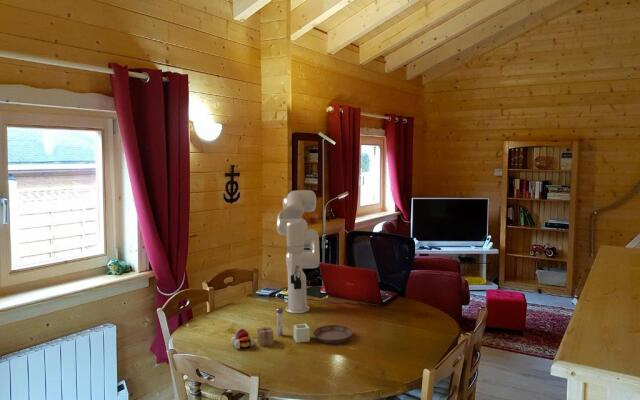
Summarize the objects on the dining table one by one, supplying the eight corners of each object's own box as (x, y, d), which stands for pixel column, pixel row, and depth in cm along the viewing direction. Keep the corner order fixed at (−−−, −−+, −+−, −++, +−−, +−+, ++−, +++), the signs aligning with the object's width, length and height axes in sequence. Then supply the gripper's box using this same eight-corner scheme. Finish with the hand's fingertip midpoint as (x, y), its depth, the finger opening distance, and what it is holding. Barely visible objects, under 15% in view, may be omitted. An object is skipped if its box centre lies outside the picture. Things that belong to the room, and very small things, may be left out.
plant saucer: (322, 348, 224) (322, 341, 224) (307, 334, 240) (307, 328, 240) (359, 341, 231) (359, 335, 231) (342, 328, 247) (342, 322, 247)
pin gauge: (276, 334, 240) (275, 308, 239) (282, 333, 241) (282, 307, 240) (277, 336, 237) (276, 310, 236) (284, 336, 238) (283, 309, 237)
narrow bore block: (257, 341, 232) (257, 328, 232) (270, 339, 234) (270, 326, 233) (259, 346, 227) (259, 332, 226) (273, 344, 228) (273, 331, 227)
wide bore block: (293, 337, 236) (293, 324, 235) (306, 336, 237) (306, 323, 237) (296, 342, 230) (296, 329, 229) (309, 341, 232) (309, 327, 231)
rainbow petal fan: (236, 351, 221) (236, 334, 221) (229, 343, 230) (229, 327, 229) (255, 347, 225) (255, 331, 224) (248, 340, 234) (247, 324, 233)
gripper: (284, 245, 244) (285, 282, 246) (289, 252, 227) (290, 291, 229) (300, 245, 246) (301, 281, 247) (307, 252, 229) (307, 290, 230)
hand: (296, 286), depth 238 cm, fingers open, 9 cm apart
